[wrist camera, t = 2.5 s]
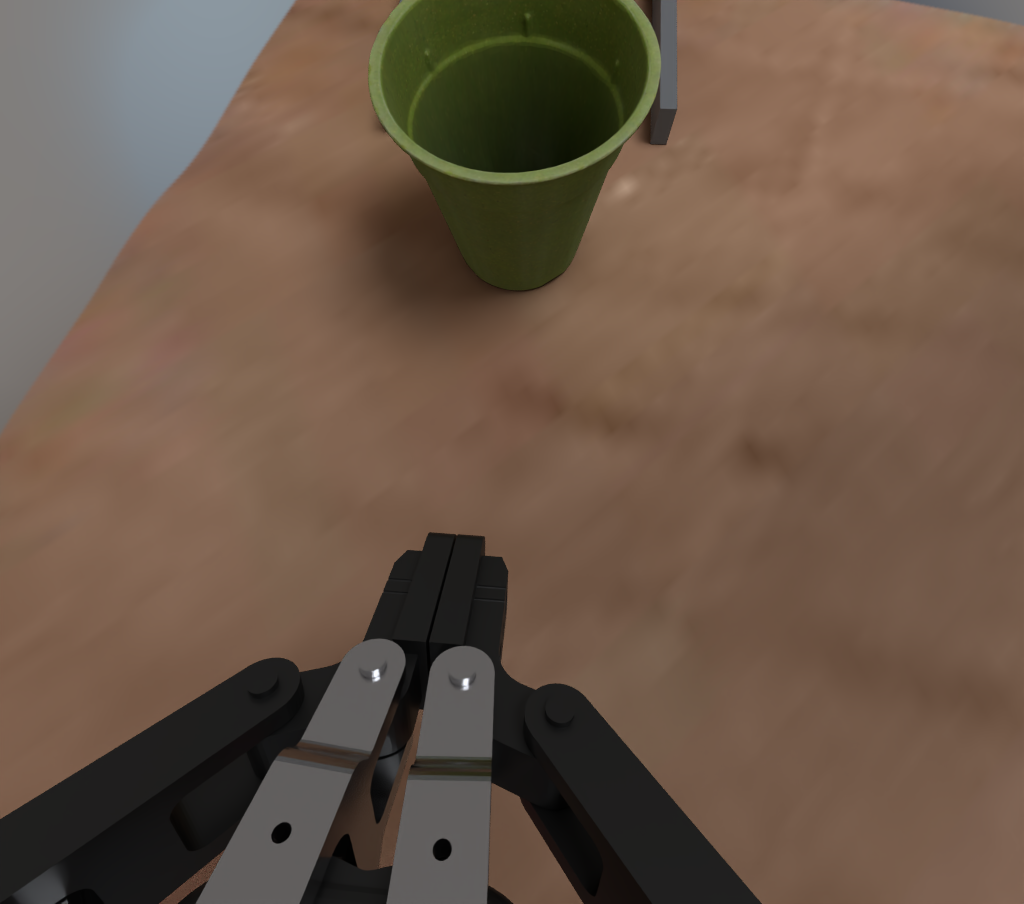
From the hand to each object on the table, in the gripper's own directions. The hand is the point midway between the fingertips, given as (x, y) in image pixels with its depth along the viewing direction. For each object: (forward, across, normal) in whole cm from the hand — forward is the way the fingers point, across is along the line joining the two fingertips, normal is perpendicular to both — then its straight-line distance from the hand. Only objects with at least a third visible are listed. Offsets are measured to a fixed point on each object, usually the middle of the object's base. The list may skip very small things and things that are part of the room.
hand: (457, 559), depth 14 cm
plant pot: (+23, 0, -5) cm, 24 cm away
